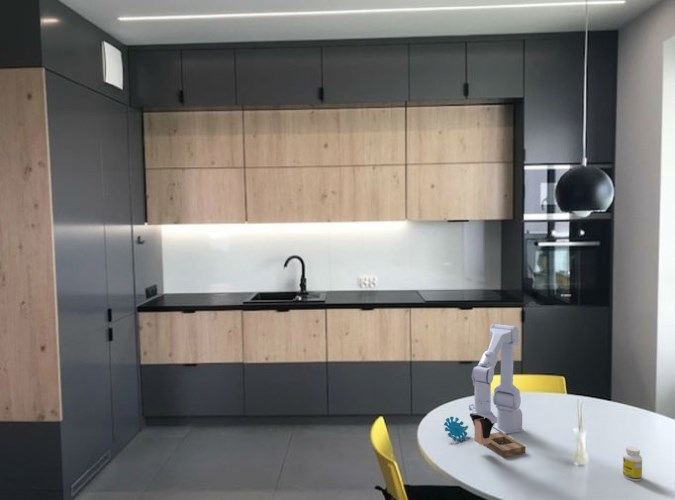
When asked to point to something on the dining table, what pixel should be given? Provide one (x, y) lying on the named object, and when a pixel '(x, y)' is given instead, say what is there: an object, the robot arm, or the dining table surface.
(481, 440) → the peg
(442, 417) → the dining table surface
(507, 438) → the socket block
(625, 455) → the supplement bottle
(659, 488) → the dining table surface
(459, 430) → the gear
